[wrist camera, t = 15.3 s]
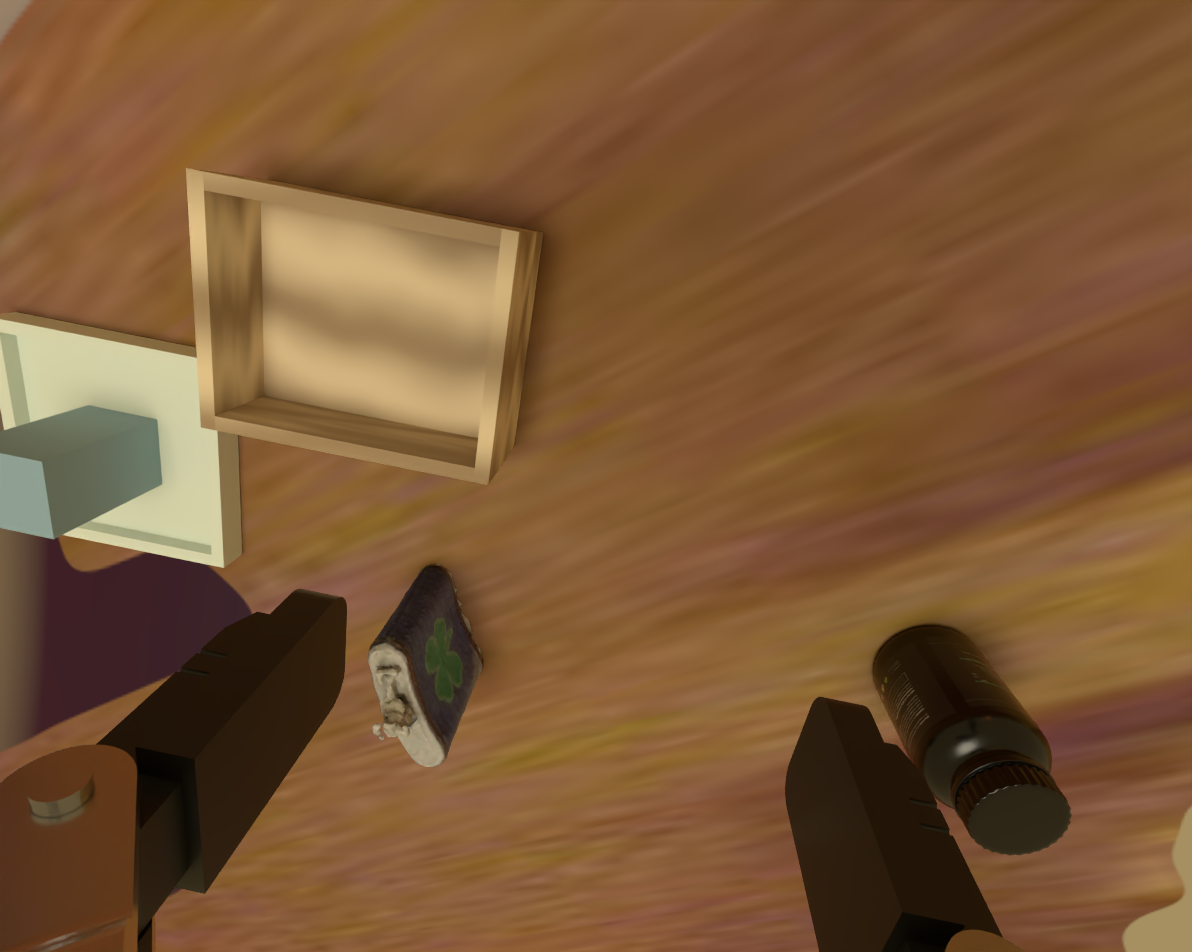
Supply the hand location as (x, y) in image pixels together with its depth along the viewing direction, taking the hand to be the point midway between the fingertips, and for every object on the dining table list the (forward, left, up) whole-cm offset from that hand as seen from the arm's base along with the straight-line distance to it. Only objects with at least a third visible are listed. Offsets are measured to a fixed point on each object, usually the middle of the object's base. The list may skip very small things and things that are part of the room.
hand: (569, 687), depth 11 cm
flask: (+20, -9, -28) cm, 36 cm away
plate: (+11, -31, -28) cm, 43 cm away
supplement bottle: (+16, +23, -28) cm, 40 cm away
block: (+11, -31, -27) cm, 42 cm away
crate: (0, -14, -28) cm, 31 cm away
